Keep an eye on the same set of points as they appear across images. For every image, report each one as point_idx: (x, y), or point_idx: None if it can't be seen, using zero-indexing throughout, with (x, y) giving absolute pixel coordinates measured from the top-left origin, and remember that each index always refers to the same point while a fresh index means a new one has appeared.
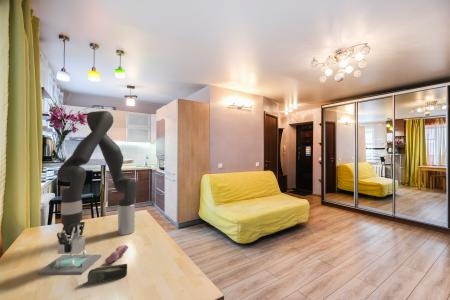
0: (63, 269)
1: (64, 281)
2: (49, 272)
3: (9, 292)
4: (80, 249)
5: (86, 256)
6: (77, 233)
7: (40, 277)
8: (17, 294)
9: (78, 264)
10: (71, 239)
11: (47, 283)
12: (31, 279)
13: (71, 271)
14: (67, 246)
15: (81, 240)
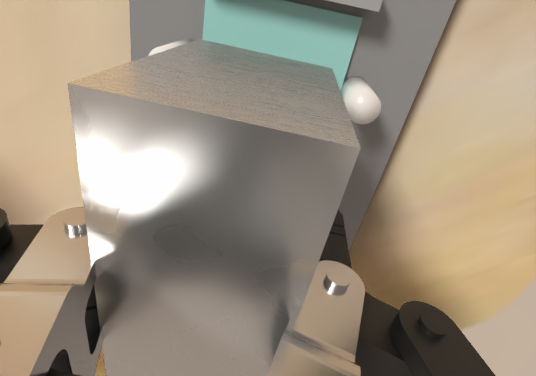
0: (361, 150)
1: (528, 68)
2: (357, 224)
3: (478, 313)
4: (296, 67)
5: (166, 43)
6: (65, 319)
7: (379, 247)
8: (526, 277)
9: (319, 53)
10: (269, 308)
11: (485, 180)
12: (383, 278)
13: (427, 66)
14: (350, 263)
15: (249, 100)
